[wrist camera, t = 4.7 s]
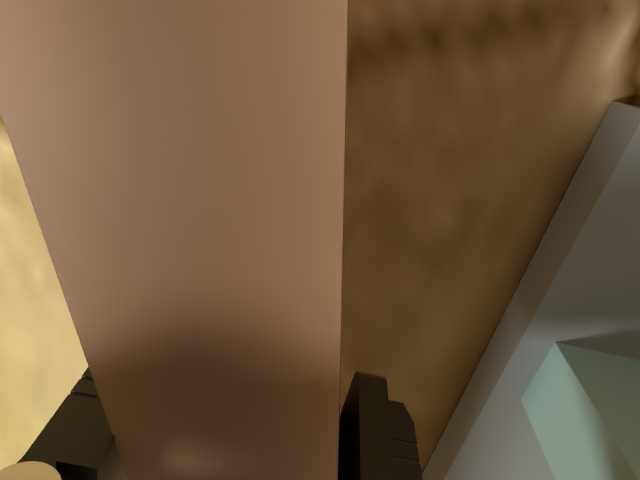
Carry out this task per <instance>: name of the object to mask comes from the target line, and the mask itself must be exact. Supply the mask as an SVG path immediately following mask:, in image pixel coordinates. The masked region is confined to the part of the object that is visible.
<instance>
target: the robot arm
mask: <svg viewBox="0 0 640 480" xmlns="http://www.w3.org/2000/svg"><path fill="white" fill-rule="evenodd" d="M416 444H417V441H416V434H415V428H414V422H413V420H412V418H411V417H410V415H409V413H408V411H407V410H406V408H405V406H404V404H403V403H400V402H395V401H390V400H388V390H387V381H386V378H385V377H381V376H377V375H372V374H367V373H362V372H356V373H355V374H354V377H353V380H352V383H351V385H350V388H349V391H348V394H347V397H346V400H345V403H344V406H343V408H342V411H341V415H340V420H339V455H338V480H422V475H421V468H420V465H419V454H418V448H417V447H416ZM0 480H128V478H127V475H126V472H125V469H124V467H123V464H122V461H121V458H120V455H119V452H118V449H117V446H116V444H115V435H112V432H111V429H110V426H109V423H108V421H107V418H106V415H105V412H104V409H103V406H102V403H101V400H100V398H99V395H98V392H97V389H96V386H95V383H94V380H93V377H92V374H91V372H90V369H89V367H88V368H87V370H86V371H85V372H84V374H83V375H82V378H81V379H79V381H78V382H77V383H76V385H75V386H74V388H73V389H72V390H71V394H70V395H68V396H67V397H66V399H65V400H64V401H63V403H62V404H61V406H60V407H59V408H58V410H57V411H56V412H55V414H54V415H53V417H52V418H51V419H50V421H49V422H48V423H47V425H46V426H45V428H44V429H43V430H42V432H41V433H40V434H39V436H38V437H37V439H36V440H35V441H34V443H33V444H32V445H31V447H30V448H29V450H28V451H27V452H26V454H25V455H24V456H23V457H22V458H21V459H20V460H19V461H18V462H17V463H16V464H14V465H11V466H8V467H6V468H4V469H2V470H0Z"/></svg>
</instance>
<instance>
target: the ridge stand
mask: <svg viewBox="0 0 640 480" xmlns="http://www.w3.org/2000/svg"><path fill="white" fill-rule="evenodd" d="M422 480H640V107H637V106H633V105H628V104H624V103H620V102H615V101H612V102H611V104H610V106H609V108H608V110H607V112H606V114H605V116H604V118H603V120H602V122H601V124H600V126H599V128H598V130H597V132H596V134H595V136H594V138H593V140H592V142H591V144H590V146H589V148H588V149H587V151H586V153H585V155H584V157H583V159H582V161H581V163H580V165H579V167H578V169H577V171H576V173H575V175H574V177H573V179H572V181H571V183H570V185H569V187H568V189H567V191H566V193H565V195H564V197H563V199H562V201H561V202H560V204H559V206H558V208H557V210H556V212H555V214H554V216H553V218H552V220H551V222H550V224H549V226H548V228H547V230H546V232H545V234H544V236H543V238H542V240H541V242H540V244H539V246H538V248H537V250H536V252H535V253H534V255H533V257H532V259H531V261H530V263H529V265H528V267H527V269H526V271H525V273H524V275H523V277H522V279H521V281H520V283H519V285H518V287H517V289H516V291H515V293H514V295H513V297H512V299H511V301H510V303H509V305H508V306H507V308H506V310H505V312H504V314H503V316H502V318H501V320H500V322H499V324H498V326H497V328H496V330H495V332H494V334H493V336H492V338H491V340H490V342H489V344H488V346H487V348H486V350H485V352H484V354H483V356H482V358H481V359H480V361H479V363H478V365H477V367H476V369H475V371H474V373H473V375H472V377H471V379H470V381H469V383H468V385H467V387H466V389H465V391H464V393H463V395H462V397H461V399H460V401H459V403H458V405H457V407H456V409H455V411H454V412H453V414H452V416H451V418H450V420H449V422H448V424H447V426H446V428H445V430H444V432H443V434H442V436H441V438H440V440H439V442H438V444H437V446H436V448H435V450H434V452H433V454H432V456H431V458H430V460H429V462H428V464H427V465H426V467H425V469H424V471H423V473H422Z"/></svg>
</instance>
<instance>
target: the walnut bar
mask: <svg viewBox="0 0 640 480" xmlns="http://www.w3.org/2000/svg"><path fill="white" fill-rule="evenodd" d="M348 36H349V0H0V113H1V115H2V118H3V121H4V124H5V127H6V130H7V133H8V136H9V138H10V141H11V144H12V147H13V150H14V153H15V156H16V159H17V162H18V164H19V167H20V170H21V173H22V176H23V179H24V182H25V185H26V187H27V190H28V193H29V196H30V199H31V202H32V205H33V208H34V210H35V213H36V216H37V219H38V222H39V225H40V228H41V231H42V233H43V236H44V239H45V242H46V245H47V248H48V251H49V254H50V256H51V259H52V262H53V265H54V268H55V271H56V274H57V277H58V280H59V282H60V285H61V288H62V291H63V294H64V297H65V300H66V303H67V305H68V308H69V311H70V314H71V317H72V320H73V323H74V326H75V328H76V331H77V334H78V337H79V340H80V343H81V346H82V349H83V351H84V354H85V357H86V360H87V363H88V366H89V369H90V372H91V374H92V377H93V380H94V383H95V386H96V389H97V392H98V395H99V398H100V400H101V403H102V406H103V409H104V412H105V415H106V418H107V421H108V423H109V426H110V429H111V432H112V435H115V444H116V446H117V449H118V452H119V455H120V458H121V461H122V464H123V467H124V469H125V472H126V475H127V478H128V480H338V455H339V420H340V383H341V340H342V297H343V253H344V210H345V167H346V123H347V80H348Z"/></svg>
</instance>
